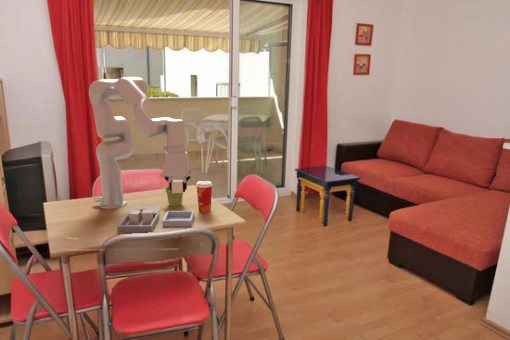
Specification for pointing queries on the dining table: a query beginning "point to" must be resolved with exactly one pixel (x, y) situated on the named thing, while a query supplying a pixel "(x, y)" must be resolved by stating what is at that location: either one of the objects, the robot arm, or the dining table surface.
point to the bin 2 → (178, 218)
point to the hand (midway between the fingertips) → (178, 190)
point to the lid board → (144, 208)
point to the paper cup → (204, 196)
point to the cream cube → (177, 186)
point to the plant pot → (174, 197)
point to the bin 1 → (137, 225)
